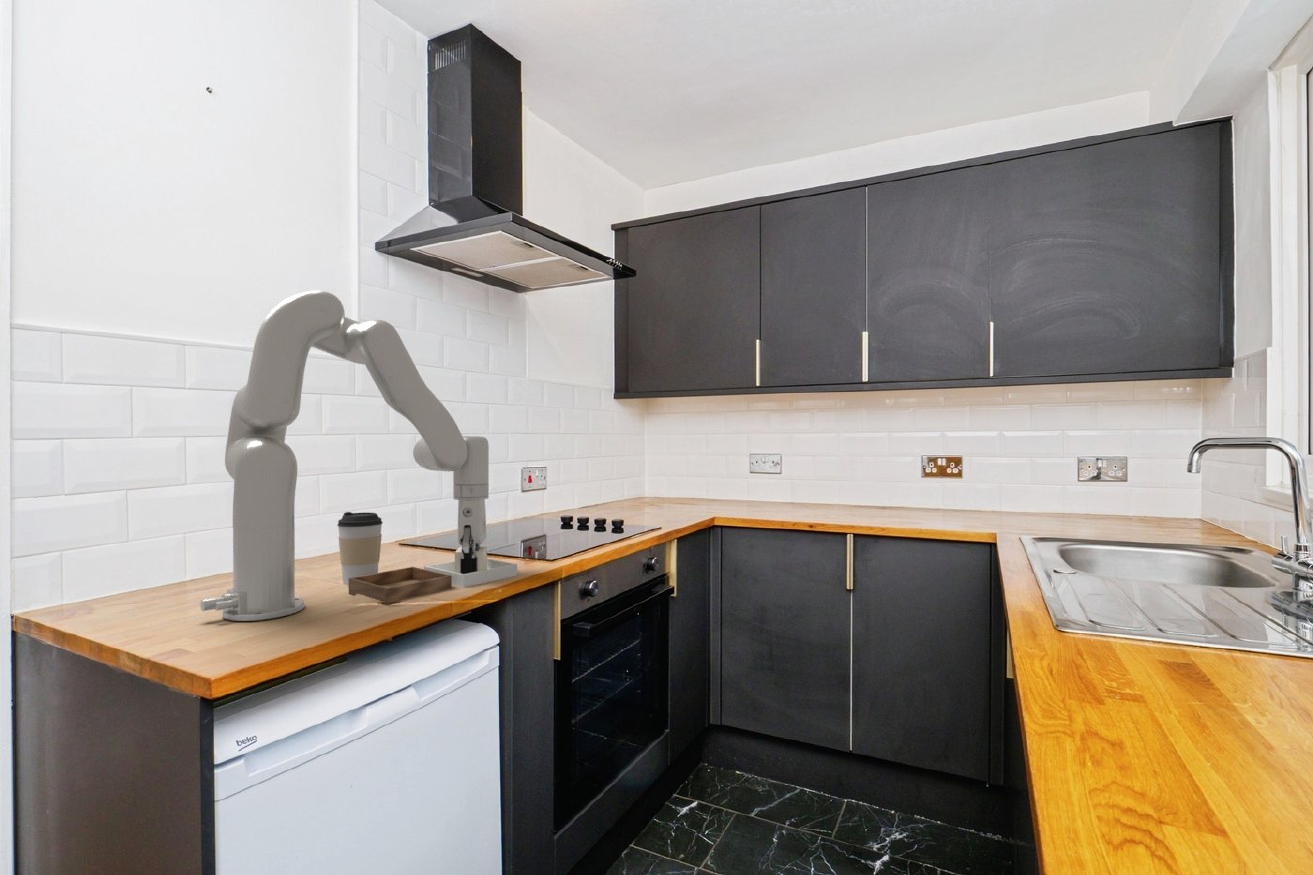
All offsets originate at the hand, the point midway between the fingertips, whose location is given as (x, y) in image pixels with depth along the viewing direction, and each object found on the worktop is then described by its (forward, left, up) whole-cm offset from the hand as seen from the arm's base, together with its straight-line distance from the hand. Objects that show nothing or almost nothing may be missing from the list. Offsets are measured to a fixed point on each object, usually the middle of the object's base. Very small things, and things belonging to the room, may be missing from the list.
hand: (471, 572), depth 143 cm
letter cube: (0, 0, -1) cm, 1 cm away
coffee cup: (-16, +18, -2) cm, 24 cm away
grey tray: (0, 0, -1) cm, 1 cm away
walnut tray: (-16, +2, -1) cm, 16 cm away
